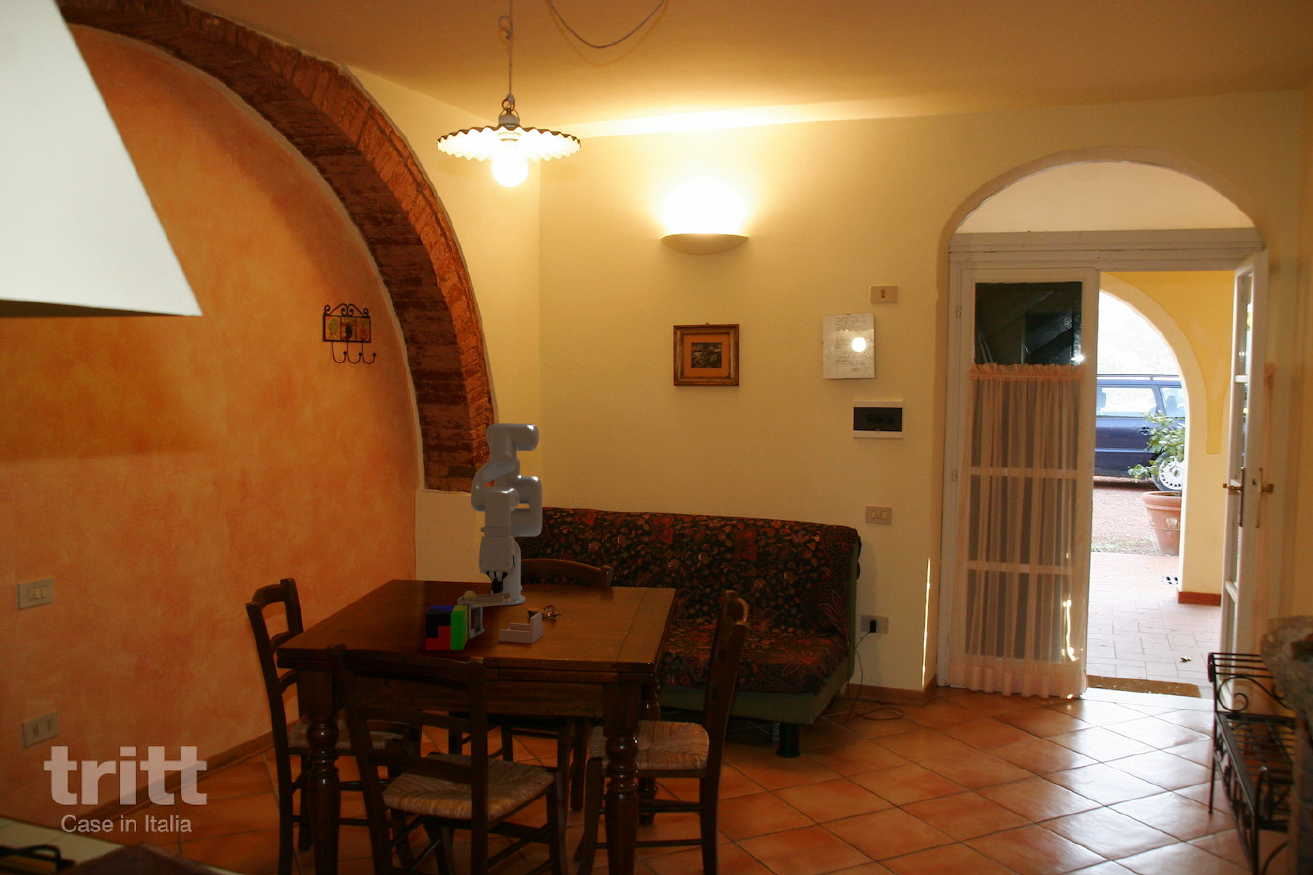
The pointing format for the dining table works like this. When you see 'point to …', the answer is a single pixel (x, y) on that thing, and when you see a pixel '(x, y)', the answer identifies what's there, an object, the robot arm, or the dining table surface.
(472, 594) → the ball
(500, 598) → the lever
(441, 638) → the puzzle toy
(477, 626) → the stand
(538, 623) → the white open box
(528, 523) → the robot arm
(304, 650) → the dining table surface
